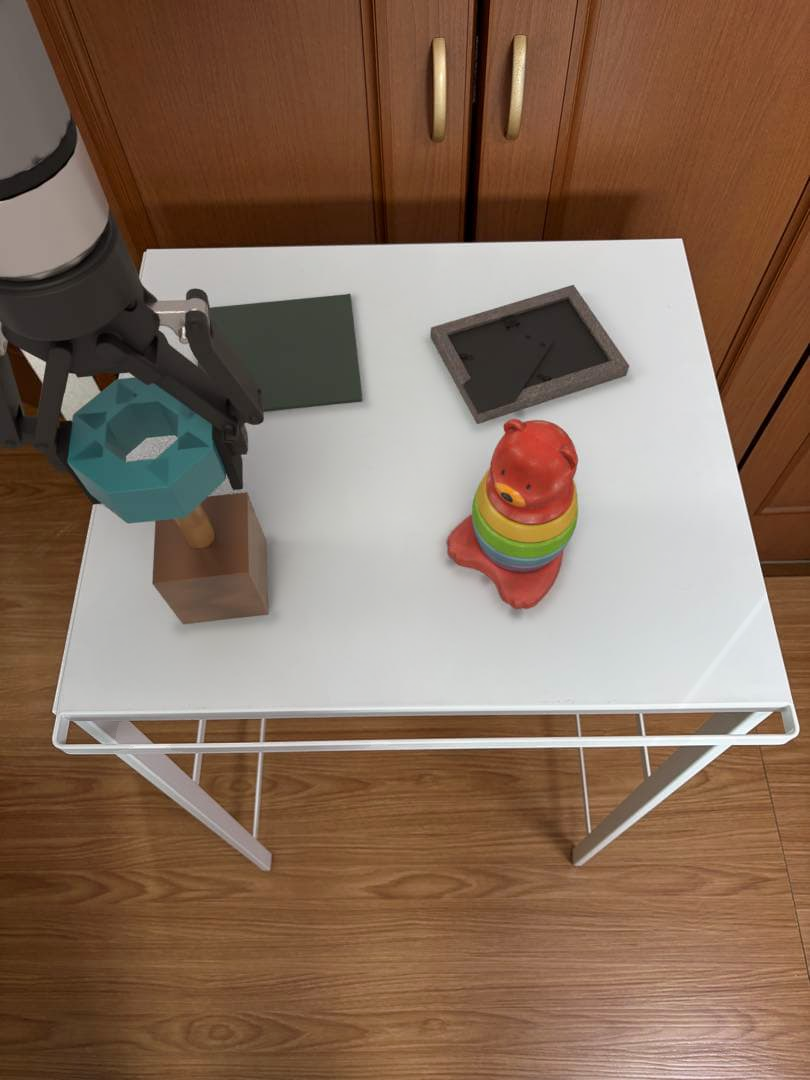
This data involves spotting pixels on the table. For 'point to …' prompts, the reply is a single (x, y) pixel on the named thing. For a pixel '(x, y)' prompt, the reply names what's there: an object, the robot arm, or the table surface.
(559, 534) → the stacking bear
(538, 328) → the picture frame
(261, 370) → the mat
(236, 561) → the ring stand
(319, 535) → the table surface
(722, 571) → the table surface
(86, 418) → the ring
